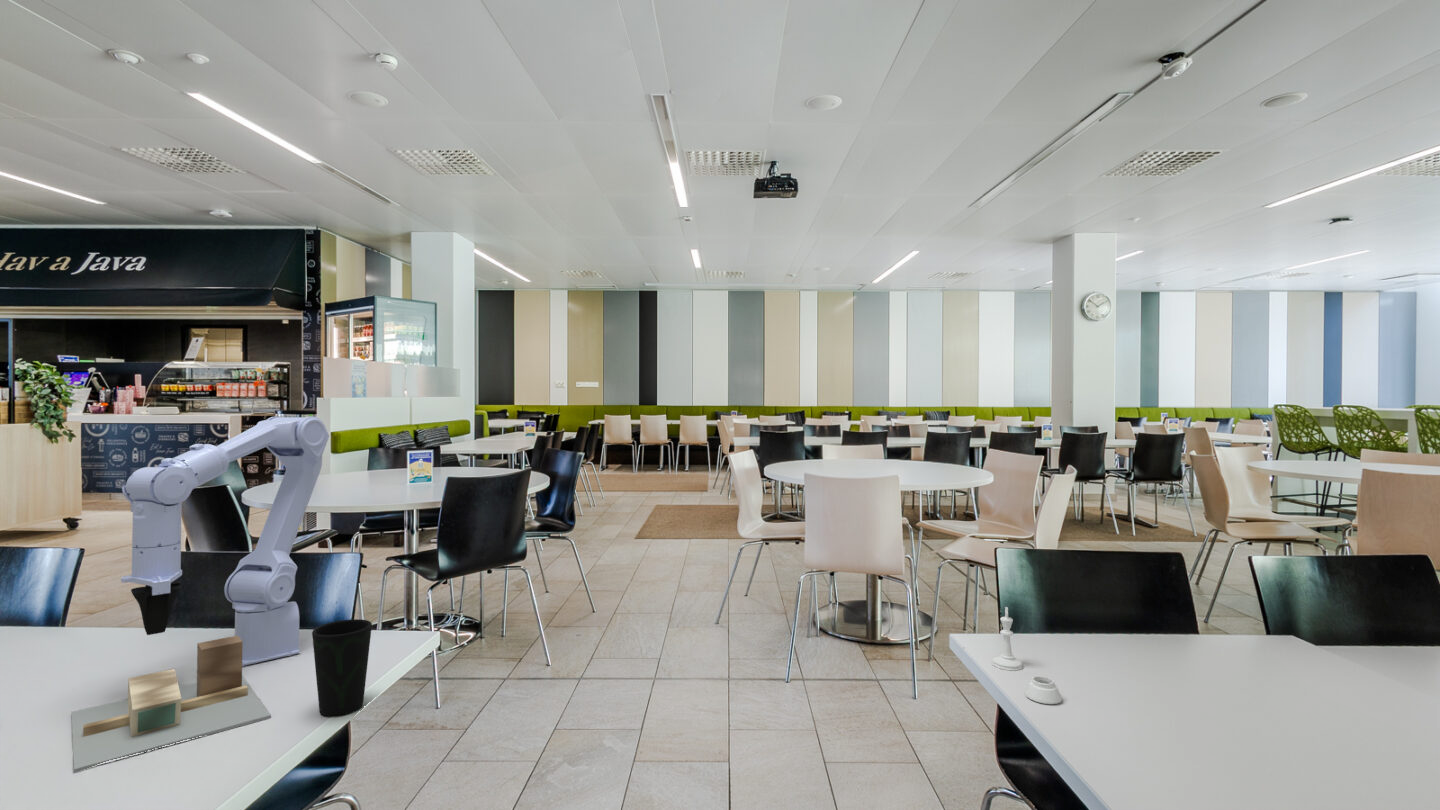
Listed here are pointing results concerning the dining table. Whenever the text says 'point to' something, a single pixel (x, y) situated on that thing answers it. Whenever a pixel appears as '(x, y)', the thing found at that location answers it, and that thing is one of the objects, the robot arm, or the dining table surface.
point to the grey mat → (191, 726)
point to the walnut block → (219, 665)
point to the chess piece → (1006, 648)
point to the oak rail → (185, 706)
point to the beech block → (153, 702)
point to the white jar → (1043, 691)
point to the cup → (341, 665)
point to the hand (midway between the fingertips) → (155, 632)
